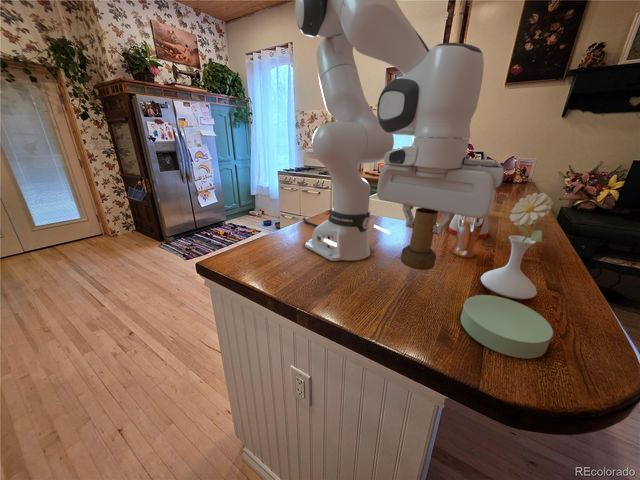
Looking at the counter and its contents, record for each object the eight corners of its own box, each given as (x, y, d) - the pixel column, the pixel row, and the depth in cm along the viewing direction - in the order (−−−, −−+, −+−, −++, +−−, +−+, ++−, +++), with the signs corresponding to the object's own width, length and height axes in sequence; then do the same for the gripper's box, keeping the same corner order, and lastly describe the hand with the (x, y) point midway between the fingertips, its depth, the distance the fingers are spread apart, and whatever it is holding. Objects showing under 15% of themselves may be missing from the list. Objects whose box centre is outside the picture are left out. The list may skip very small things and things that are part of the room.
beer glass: (478, 259, 80) (490, 213, 75) (454, 257, 81) (464, 211, 76) (470, 250, 87) (481, 207, 81) (448, 248, 88) (457, 205, 82)
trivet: (452, 332, 50) (455, 317, 48) (469, 300, 59) (472, 287, 58) (545, 373, 41) (552, 356, 40) (547, 328, 51) (553, 313, 50)
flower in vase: (475, 275, 70) (500, 184, 61) (525, 283, 67) (559, 187, 57) (484, 301, 59) (516, 194, 50) (545, 313, 55) (591, 199, 46)
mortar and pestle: (394, 261, 53) (408, 172, 46) (409, 252, 57) (424, 169, 50) (425, 273, 48) (446, 177, 41) (439, 263, 53) (460, 174, 46)
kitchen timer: (487, 241, 94) (498, 201, 89) (446, 234, 101) (454, 196, 96) (487, 230, 106) (496, 194, 100) (450, 225, 112) (457, 190, 107)
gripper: (510, 159, 41) (487, 239, 46) (391, 151, 53) (384, 215, 58) (505, 161, 36) (479, 250, 41) (376, 153, 48) (369, 222, 54)
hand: (423, 230), depth 50 cm, fingers closed on mortar and pestle, 4 cm apart
